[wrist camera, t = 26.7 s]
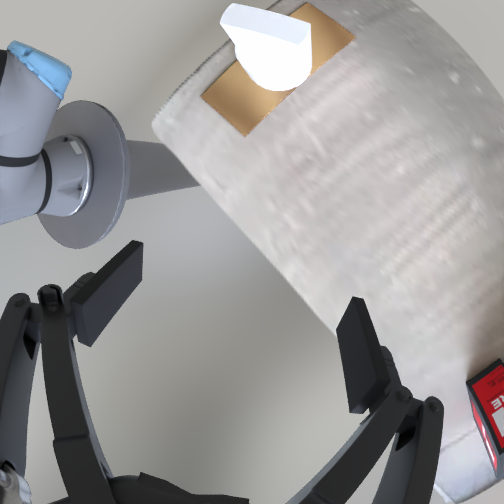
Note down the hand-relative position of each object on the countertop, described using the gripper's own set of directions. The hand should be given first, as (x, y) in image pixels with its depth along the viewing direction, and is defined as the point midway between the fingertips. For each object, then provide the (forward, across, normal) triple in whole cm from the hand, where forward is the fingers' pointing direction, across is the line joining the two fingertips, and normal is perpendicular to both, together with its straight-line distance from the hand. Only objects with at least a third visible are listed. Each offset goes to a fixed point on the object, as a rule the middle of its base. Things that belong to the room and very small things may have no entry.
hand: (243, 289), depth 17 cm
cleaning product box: (+13, +56, -22) cm, 62 cm away
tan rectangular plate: (+26, -3, +18) cm, 32 cm away
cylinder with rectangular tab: (+26, -3, +18) cm, 32 cm away
